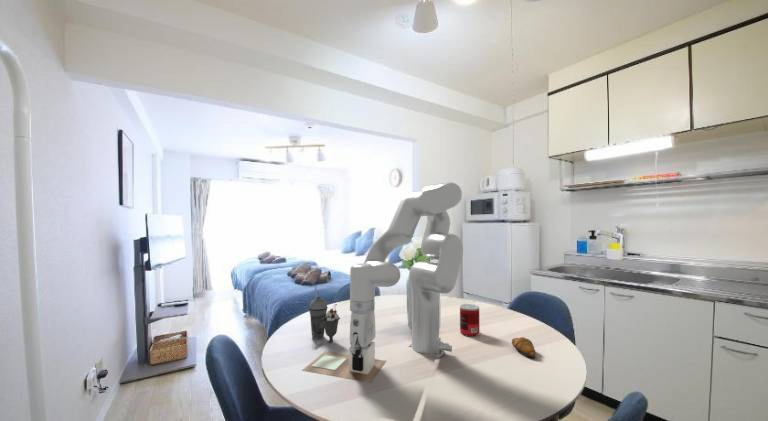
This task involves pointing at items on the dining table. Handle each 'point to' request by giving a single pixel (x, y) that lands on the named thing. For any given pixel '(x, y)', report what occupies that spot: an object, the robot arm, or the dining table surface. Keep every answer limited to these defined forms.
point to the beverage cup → (317, 316)
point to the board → (341, 367)
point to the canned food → (469, 319)
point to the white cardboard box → (365, 358)
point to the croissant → (524, 346)
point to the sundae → (331, 323)
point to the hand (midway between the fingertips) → (362, 364)
